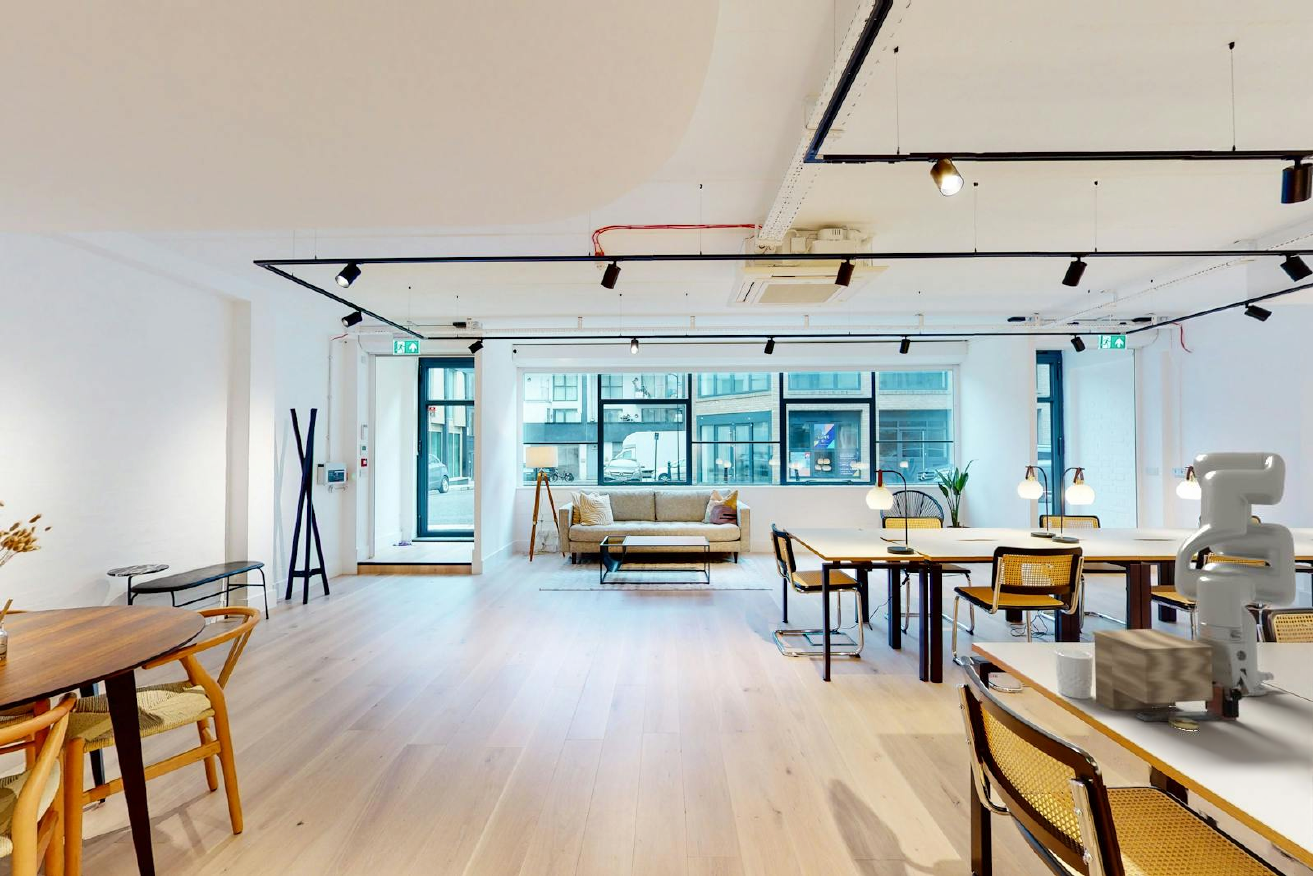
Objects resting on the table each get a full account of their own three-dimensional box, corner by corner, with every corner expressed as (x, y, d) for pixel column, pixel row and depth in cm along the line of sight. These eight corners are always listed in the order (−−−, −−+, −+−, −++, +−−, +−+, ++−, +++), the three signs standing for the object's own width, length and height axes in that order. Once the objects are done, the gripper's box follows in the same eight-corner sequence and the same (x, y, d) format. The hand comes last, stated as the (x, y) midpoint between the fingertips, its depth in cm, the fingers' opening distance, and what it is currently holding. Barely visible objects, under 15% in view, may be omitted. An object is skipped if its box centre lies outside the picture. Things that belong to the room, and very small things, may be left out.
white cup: (1100, 701, 151) (1099, 659, 151) (1063, 699, 153) (1062, 657, 153) (1084, 689, 159) (1083, 649, 159) (1050, 687, 160) (1049, 647, 161)
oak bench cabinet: (1156, 698, 153) (1154, 628, 153) (1214, 723, 139) (1212, 646, 139) (1093, 701, 151) (1092, 630, 152) (1146, 726, 137) (1144, 649, 138)
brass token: (1182, 721, 140) (1182, 716, 140) (1204, 731, 135) (1204, 725, 135) (1162, 722, 139) (1162, 717, 139) (1184, 732, 134) (1184, 727, 134)
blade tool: (1221, 713, 144) (1220, 683, 144) (1236, 720, 140) (1236, 688, 140) (1135, 715, 142) (1134, 684, 142) (1148, 722, 138) (1148, 690, 139)
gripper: (1273, 642, 134) (1276, 728, 134) (1200, 621, 151) (1202, 698, 150) (1241, 643, 134) (1244, 730, 133) (1171, 622, 150) (1173, 700, 150)
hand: (1221, 712), depth 142 cm, fingers closed on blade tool, 3 cm apart
